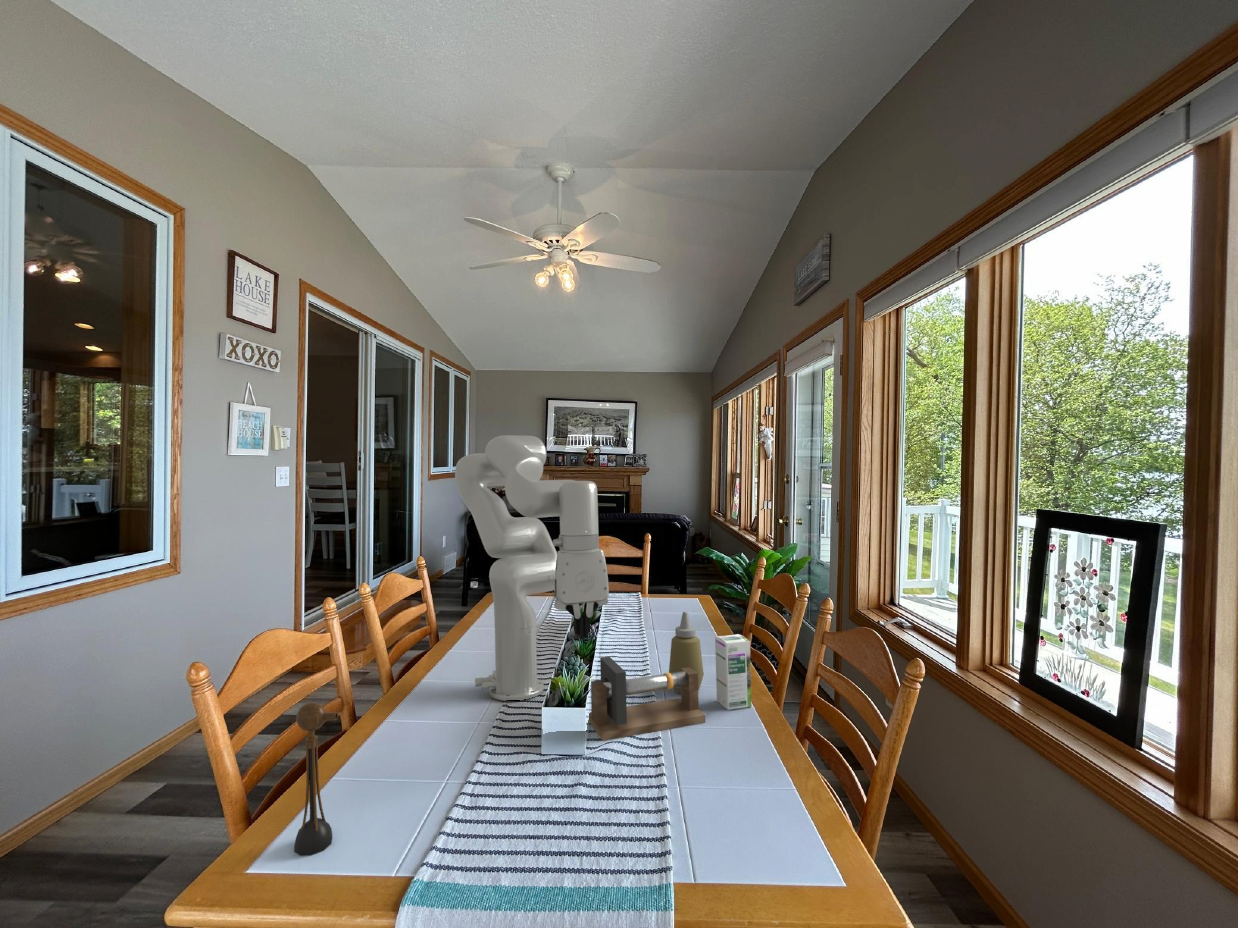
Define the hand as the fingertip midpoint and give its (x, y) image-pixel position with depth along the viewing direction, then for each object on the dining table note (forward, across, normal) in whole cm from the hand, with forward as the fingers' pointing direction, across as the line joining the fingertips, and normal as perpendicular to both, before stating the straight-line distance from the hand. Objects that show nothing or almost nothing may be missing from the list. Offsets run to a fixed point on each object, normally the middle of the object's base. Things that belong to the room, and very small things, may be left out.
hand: (582, 636), depth 117 cm
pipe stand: (+19, +13, +1) cm, 23 cm away
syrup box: (+19, +34, +2) cm, 39 cm away
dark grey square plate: (+17, +6, +1) cm, 18 cm away
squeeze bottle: (+19, +28, +13) cm, 36 cm away
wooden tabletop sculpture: (+19, -45, -19) cm, 52 cm away
